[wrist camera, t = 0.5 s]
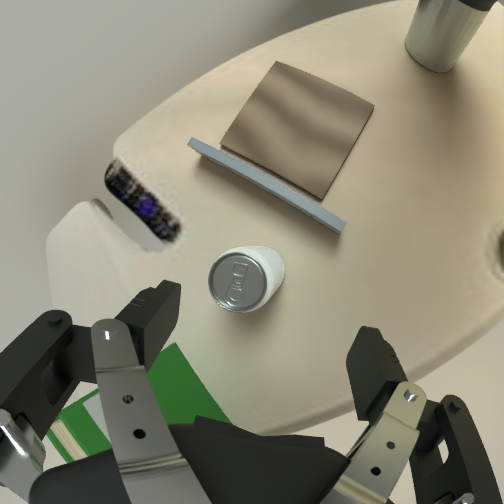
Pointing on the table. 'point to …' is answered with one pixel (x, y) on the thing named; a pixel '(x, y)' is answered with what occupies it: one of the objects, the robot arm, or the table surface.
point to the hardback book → (167, 395)
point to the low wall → (269, 185)
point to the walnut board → (298, 127)
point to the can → (245, 278)
